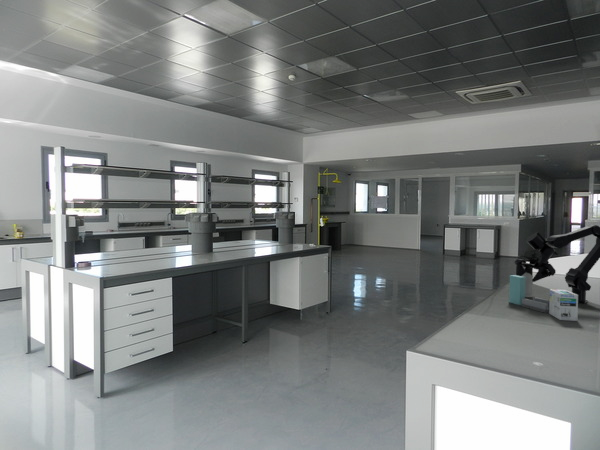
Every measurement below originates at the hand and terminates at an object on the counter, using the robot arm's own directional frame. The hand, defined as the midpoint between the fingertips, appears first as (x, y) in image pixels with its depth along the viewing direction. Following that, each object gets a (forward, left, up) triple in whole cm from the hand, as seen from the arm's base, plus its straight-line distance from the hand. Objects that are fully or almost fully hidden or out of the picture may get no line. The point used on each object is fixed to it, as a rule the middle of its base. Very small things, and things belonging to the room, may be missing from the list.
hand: (524, 279), depth 188 cm
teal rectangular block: (+4, -2, -11) cm, 12 cm away
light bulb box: (+16, +20, -11) cm, 28 cm away
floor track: (+7, +9, -11) cm, 16 cm away
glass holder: (-21, -8, -11) cm, 25 cm away
